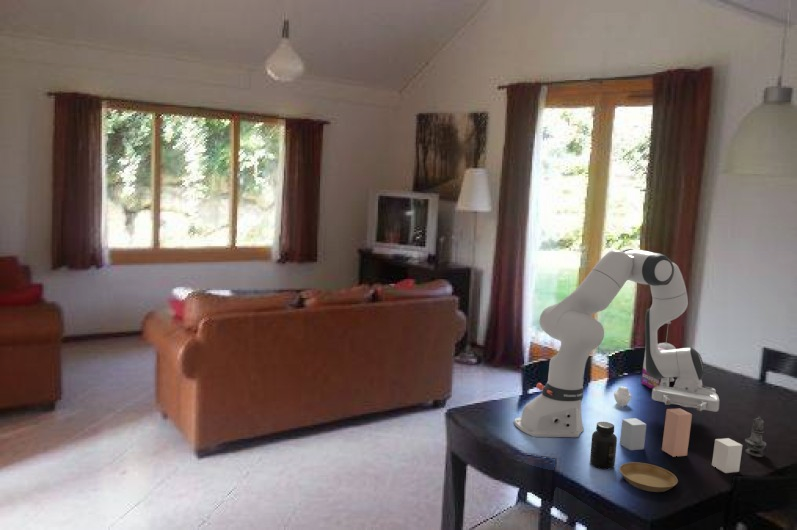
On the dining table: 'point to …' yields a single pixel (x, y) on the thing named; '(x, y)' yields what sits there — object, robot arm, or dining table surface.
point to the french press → (667, 347)
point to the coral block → (676, 432)
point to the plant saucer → (648, 476)
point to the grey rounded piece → (622, 396)
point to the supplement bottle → (603, 446)
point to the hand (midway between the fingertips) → (683, 405)
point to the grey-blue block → (633, 434)
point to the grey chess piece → (756, 439)
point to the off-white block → (727, 455)
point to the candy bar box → (651, 381)
